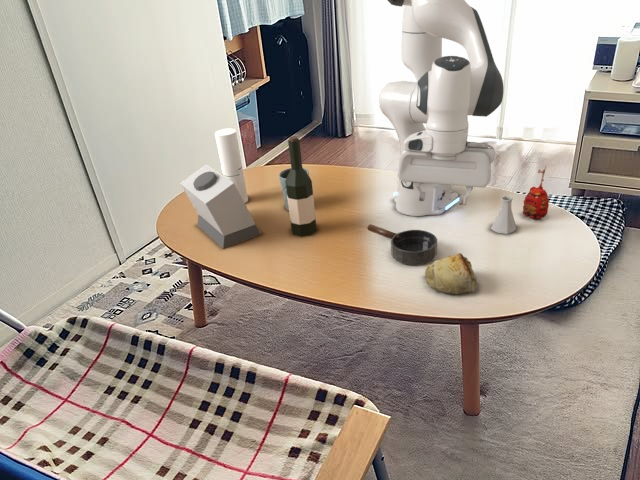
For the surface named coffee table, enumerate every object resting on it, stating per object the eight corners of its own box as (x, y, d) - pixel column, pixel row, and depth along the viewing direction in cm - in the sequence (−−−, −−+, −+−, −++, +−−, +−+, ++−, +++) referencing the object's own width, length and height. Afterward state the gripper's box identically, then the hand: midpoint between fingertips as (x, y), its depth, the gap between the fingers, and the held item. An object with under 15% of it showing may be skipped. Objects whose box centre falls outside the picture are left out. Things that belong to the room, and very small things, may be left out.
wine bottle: (314, 236, 175) (304, 142, 157) (288, 236, 177) (275, 142, 159) (319, 224, 182) (310, 132, 164) (294, 224, 184) (282, 132, 166)
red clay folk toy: (517, 215, 175) (523, 169, 166) (530, 207, 178) (536, 162, 169) (539, 223, 170) (547, 176, 161) (552, 214, 173) (560, 168, 164)
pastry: (488, 286, 146) (490, 259, 141) (452, 303, 141) (453, 276, 136) (450, 264, 156) (451, 238, 151) (415, 280, 151) (415, 254, 146)
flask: (520, 227, 169) (524, 196, 163) (508, 236, 165) (512, 205, 159) (498, 221, 173) (501, 190, 167) (486, 230, 169) (489, 199, 163)
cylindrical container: (252, 198, 203) (240, 129, 188) (239, 206, 198) (226, 136, 183) (236, 195, 206) (223, 127, 191) (224, 203, 201) (210, 134, 186)
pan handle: (365, 230, 170) (365, 225, 169) (370, 228, 171) (370, 222, 170) (396, 242, 163) (396, 236, 162) (401, 239, 164) (401, 233, 163)
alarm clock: (260, 234, 180) (250, 174, 168) (216, 251, 174) (202, 189, 162) (233, 213, 194) (221, 156, 182) (191, 227, 188) (176, 170, 176)
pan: (410, 239, 169) (410, 225, 166) (445, 252, 161) (446, 238, 158) (381, 256, 162) (381, 243, 160) (417, 271, 154) (418, 257, 152)
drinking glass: (294, 215, 189) (290, 181, 182) (277, 206, 195) (272, 173, 188) (318, 205, 193) (314, 171, 186) (300, 196, 200) (296, 164, 193)
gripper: (497, 139, 119) (490, 201, 127) (404, 134, 126) (402, 193, 134) (494, 147, 114) (486, 211, 122) (396, 141, 121) (394, 203, 129)
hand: (441, 202), depth 128 cm, fingers open, 8 cm apart
